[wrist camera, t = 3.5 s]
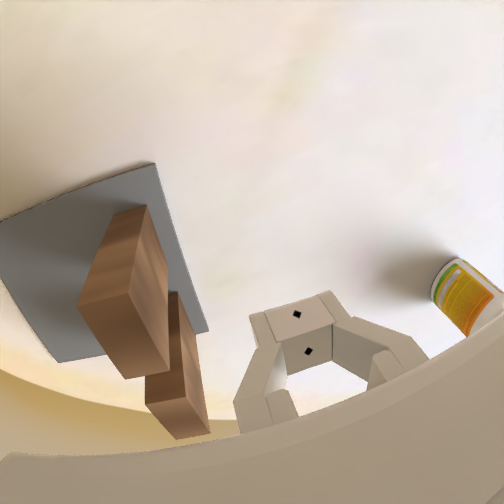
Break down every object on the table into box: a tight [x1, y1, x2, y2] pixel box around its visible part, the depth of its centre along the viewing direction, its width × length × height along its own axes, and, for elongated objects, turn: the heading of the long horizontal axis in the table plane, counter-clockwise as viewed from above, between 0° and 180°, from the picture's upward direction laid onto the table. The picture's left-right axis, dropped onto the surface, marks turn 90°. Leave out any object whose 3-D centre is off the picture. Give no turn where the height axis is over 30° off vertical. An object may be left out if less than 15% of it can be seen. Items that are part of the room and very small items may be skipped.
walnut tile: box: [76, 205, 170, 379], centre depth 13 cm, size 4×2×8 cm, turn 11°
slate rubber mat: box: [0, 163, 209, 363], centre depth 17 cm, size 12×13×1 cm
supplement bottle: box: [431, 258, 504, 337], centre depth 22 cm, size 5×5×10 cm
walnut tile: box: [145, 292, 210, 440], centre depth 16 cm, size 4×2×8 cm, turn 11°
